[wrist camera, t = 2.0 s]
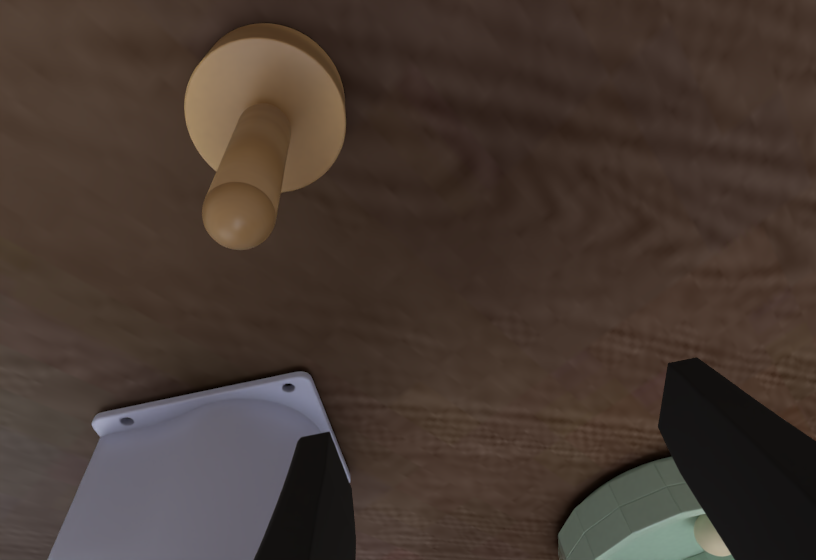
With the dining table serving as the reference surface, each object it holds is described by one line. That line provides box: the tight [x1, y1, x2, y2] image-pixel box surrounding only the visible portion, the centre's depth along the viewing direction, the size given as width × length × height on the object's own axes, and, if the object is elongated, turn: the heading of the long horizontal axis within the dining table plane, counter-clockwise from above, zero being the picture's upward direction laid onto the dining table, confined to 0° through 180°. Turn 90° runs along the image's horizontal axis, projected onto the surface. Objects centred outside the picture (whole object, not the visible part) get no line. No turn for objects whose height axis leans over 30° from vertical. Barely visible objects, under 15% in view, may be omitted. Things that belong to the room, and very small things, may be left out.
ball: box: [694, 514, 731, 557], centre depth 32 cm, size 2×2×2 cm
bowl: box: [558, 457, 735, 560], centre depth 32 cm, size 13×13×4 cm
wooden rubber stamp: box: [184, 23, 346, 250], centre depth 14 cm, size 4×4×8 cm
